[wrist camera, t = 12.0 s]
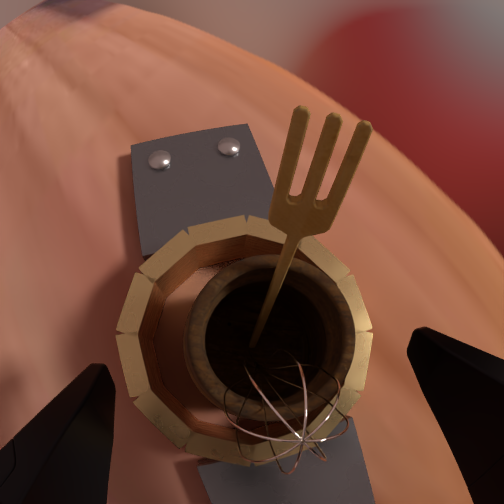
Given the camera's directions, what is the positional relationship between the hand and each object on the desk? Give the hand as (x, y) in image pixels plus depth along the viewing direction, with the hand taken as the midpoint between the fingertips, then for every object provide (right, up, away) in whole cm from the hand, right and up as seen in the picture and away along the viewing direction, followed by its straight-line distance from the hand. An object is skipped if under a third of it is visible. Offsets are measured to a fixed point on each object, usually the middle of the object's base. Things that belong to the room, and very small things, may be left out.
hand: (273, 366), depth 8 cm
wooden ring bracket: (-1, -2, +7) cm, 7 cm away
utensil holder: (-1, -2, +7) cm, 8 cm away
